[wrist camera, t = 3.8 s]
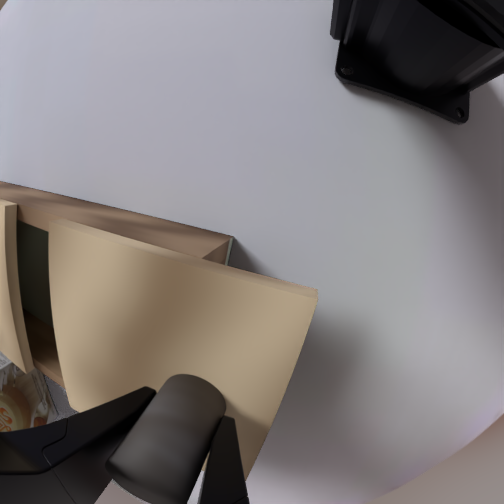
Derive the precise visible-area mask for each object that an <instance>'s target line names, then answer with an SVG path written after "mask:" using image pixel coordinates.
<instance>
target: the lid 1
mask: <svg viewBox="0 0 504 504" xmlns="http://www.w3.org/2000/svg"><path fill="white" fill-rule="evenodd" d="M16 219H17V204H16V203H12V202H9V201H6V200H3V199H0V351H1V352H2V353H3V354H4V355H5V356H6V357H7V358H8V359H10V360H11V361H12V362H13V363H14V364H15V365H16V366H17V367H19V368H20V369H21V370H22V371H23V372H25V373H26V374H28V373H29V372H30V371H32V370H33V369H34V364H33V360H32V356H31V352H30V348H29V343H28V339H27V334H26V329H25V323H24V317H23V311H22V304H21V297H20V288H19V278H18V265H17V242H16Z"/></svg>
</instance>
